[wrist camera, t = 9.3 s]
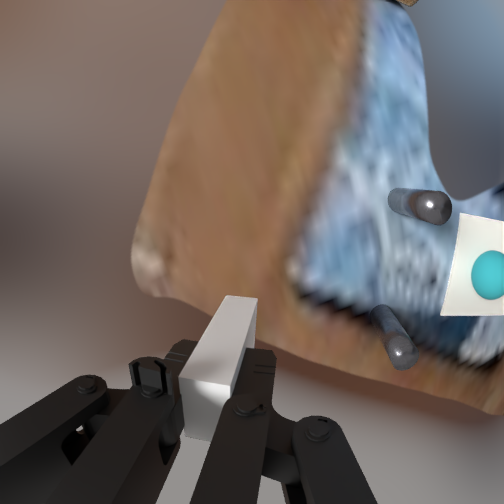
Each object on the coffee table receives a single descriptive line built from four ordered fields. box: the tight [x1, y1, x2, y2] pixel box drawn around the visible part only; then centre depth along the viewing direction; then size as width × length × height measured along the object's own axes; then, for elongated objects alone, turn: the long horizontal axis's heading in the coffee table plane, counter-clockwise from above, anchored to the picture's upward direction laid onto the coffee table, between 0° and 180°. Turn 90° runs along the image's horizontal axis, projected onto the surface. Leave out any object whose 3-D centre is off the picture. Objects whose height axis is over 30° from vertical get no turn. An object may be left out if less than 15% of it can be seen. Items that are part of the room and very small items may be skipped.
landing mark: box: [440, 213, 504, 316], centre depth 27 cm, size 12×12×1 cm
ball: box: [471, 250, 504, 300], centre depth 24 cm, size 6×6×6 cm
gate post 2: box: [388, 188, 452, 225], centre depth 23 cm, size 2×2×9 cm
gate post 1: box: [370, 305, 419, 370], centre depth 26 cm, size 2×2×9 cm
